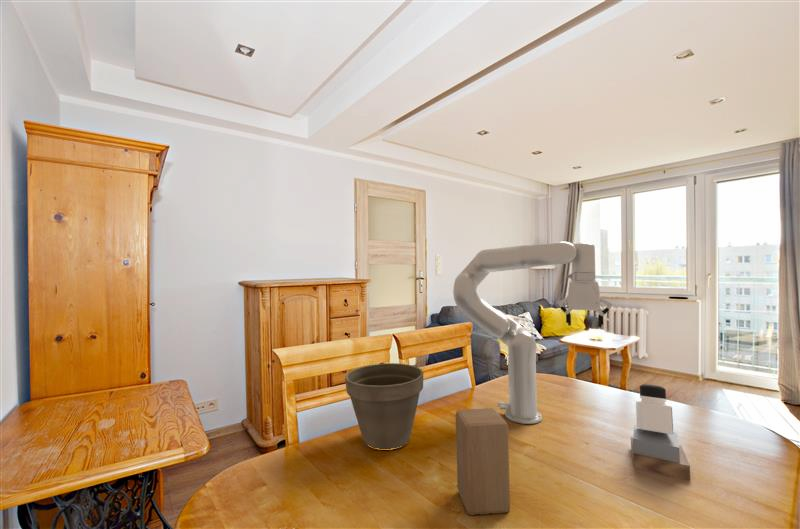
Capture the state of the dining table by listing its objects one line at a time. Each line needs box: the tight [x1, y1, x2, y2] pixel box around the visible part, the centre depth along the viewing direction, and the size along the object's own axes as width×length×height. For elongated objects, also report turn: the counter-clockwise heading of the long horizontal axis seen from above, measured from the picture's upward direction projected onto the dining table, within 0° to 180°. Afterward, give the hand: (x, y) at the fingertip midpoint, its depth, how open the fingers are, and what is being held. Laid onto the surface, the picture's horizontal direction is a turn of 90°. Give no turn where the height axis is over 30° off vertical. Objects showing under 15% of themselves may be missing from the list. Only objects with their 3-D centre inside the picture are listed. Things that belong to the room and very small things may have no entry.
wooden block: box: [455, 407, 511, 516], centre depth 86 cm, size 10×10×20 cm
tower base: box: [630, 436, 691, 481], centre depth 101 cm, size 12×12×4 cm
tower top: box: [632, 424, 680, 463], centre depth 101 cm, size 10×10×4 cm
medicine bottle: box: [635, 384, 674, 434], centre depth 103 cm, size 7×7×12 cm
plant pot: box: [344, 362, 424, 449], centre depth 118 cm, size 25×25×22 cm
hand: (584, 326), depth 131 cm, fingers open, 9 cm apart
